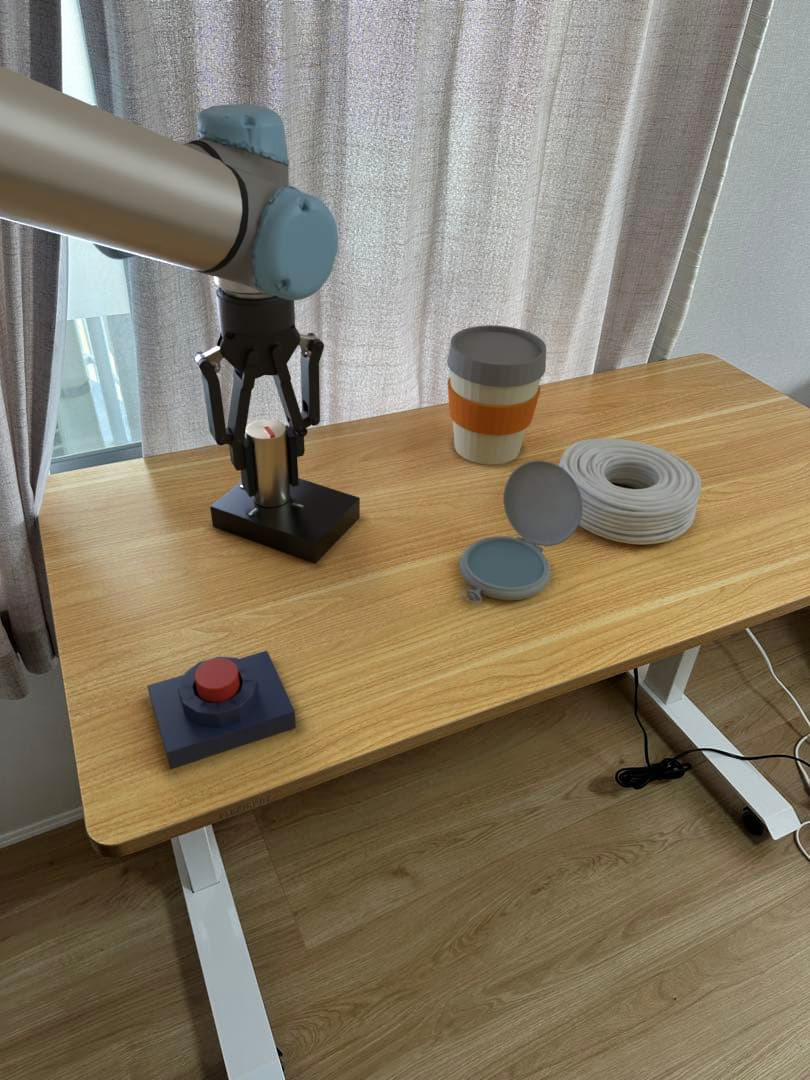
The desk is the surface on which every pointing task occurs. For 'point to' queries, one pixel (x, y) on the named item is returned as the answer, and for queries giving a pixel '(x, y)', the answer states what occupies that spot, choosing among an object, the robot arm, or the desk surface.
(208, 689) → the red button
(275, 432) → the lock knob
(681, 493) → the cable
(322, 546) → the black dial base
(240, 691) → the button block
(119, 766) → the desk surface
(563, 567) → the desk surface
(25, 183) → the robot arm
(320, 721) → the desk surface
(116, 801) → the desk surface
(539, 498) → the pocket watch
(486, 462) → the reusable coffee cup
